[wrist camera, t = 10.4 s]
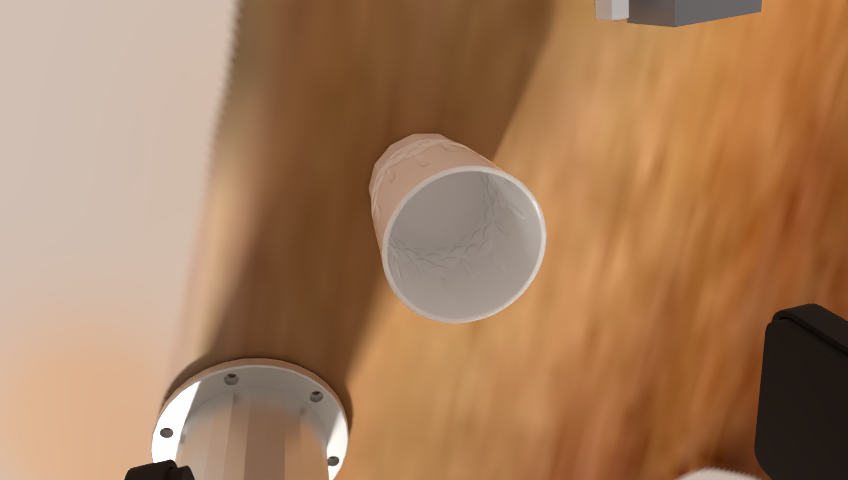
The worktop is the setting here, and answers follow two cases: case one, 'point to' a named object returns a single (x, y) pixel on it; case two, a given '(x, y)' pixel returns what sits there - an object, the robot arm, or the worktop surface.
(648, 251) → the worktop surface
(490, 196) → the white cup
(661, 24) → the gray rectangular box
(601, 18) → the pink two-prong plug
